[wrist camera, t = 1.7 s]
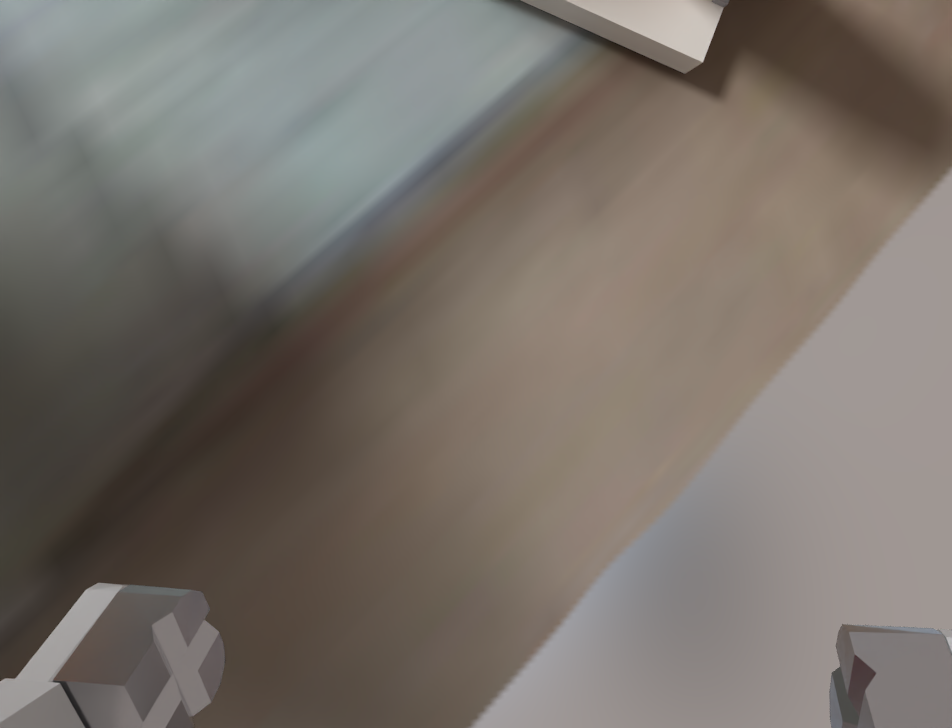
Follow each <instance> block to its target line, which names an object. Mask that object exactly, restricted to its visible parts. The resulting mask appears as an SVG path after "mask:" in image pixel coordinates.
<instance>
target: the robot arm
mask: <svg viewBox="0 0 952 728" xmlns="http://www.w3.org/2000/svg"><path fill="white" fill-rule="evenodd" d="M209 610H210V608H209V606H208V603H207V601H206V599H205V597H204V595H203V592H200V591H195V590H187V589H176V588H164V587H152V586H140V585H122V584H109V583H97V584H95V585H93V586H92V587H90V588H88V589H86V590H85V592H84V593H83V594H82V595H81V597H80V598H79V599H78V600H77V602H76V603H75V604H74V605H73V607H72V608H71V609H70V610H69V612H68V613H67V614H66V616H65V617H64V618H63V619H62V621H61V622H60V623H59V624H58V626H57V627H56V628H55V629H54V631H53V632H52V633H51V634H50V636H49V637H48V638H47V639H46V641H45V642H44V643H43V645H42V646H41V647H40V648H39V650H38V651H37V652H36V653H35V655H34V656H33V657H32V658H31V660H30V661H29V662H28V663H27V665H26V666H25V667H24V668H23V670H22V671H21V672H20V674H19V675H18V676H17V677H16V679H10V678H5V679H3V680H2V681H0V728H195V726H194V720H193V716H194V715H195V714H196V713H198V712H199V711H200V710H202V709H203V708H204V707H206V706H207V705H208V704H210V703H211V702H212V700H213V698H214V696H215V694H216V692H217V690H218V688H219V686H220V684H221V680H222V675H223V670H224V665H225V650H224V643H223V641H222V638H221V635H220V633H219V631H217V630H216V629H215V628H214V627H213V626H211V625H210V624H209V623H208V622H207V621H205V618H206V616H207V614H208V612H209ZM836 649H837V653H838V658H839V662H840V667H839V668H838V669H836V670H835V671H834V672H832V676H831V685H830V720H831V727H832V728H952V630H946V629H938V630H935V629H933V628H914V627H891V626H868V625H844V624H842V626H841V628H840V630H839V632H838V638H837V643H836Z"/></svg>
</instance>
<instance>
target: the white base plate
mask: <svg viewBox="0 0 952 728" xmlns="http://www.w3.org/2000/svg"><path fill="white" fill-rule="evenodd" d="M521 1H523V2H525V3H527V4H530V5H532V6H534V7H536V8H538V9H541V10H543V11H545V12H547V13H550V14H552V15H554V16H556V17H559V18H561V19H563V20H565V21H568V22H570V23H572V24H574V25H577V26H579V27H581V28H583V29H586V30H588V31H590V32H592V33H594V34H597V35H599V36H601V37H603V38H606V39H608V40H610V41H612V42H615V43H617V44H619V45H621V46H624V47H626V48H628V49H630V50H633V51H635V52H637V53H639V54H642V55H644V56H646V57H648V58H650V59H653V60H655V61H657V62H659V63H662V64H664V65H666V66H668V67H671V68H673V69H675V70H677V71H680V72H682V73H684V74H685V73H687V72H689V71H690V70H692V69H693V68H695V67H696V66H698V65H700V64H701V63H703V61H704V58H705V55H706V53H707V50H708V48H709V45H710V42H711V40H712V37H713V34H714V32H715V29H716V27H717V24H718V21H719V19H720V16H721V13H722V11H723V8H724V7H725V6H726V5H728V3H729V0H521Z"/></svg>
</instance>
